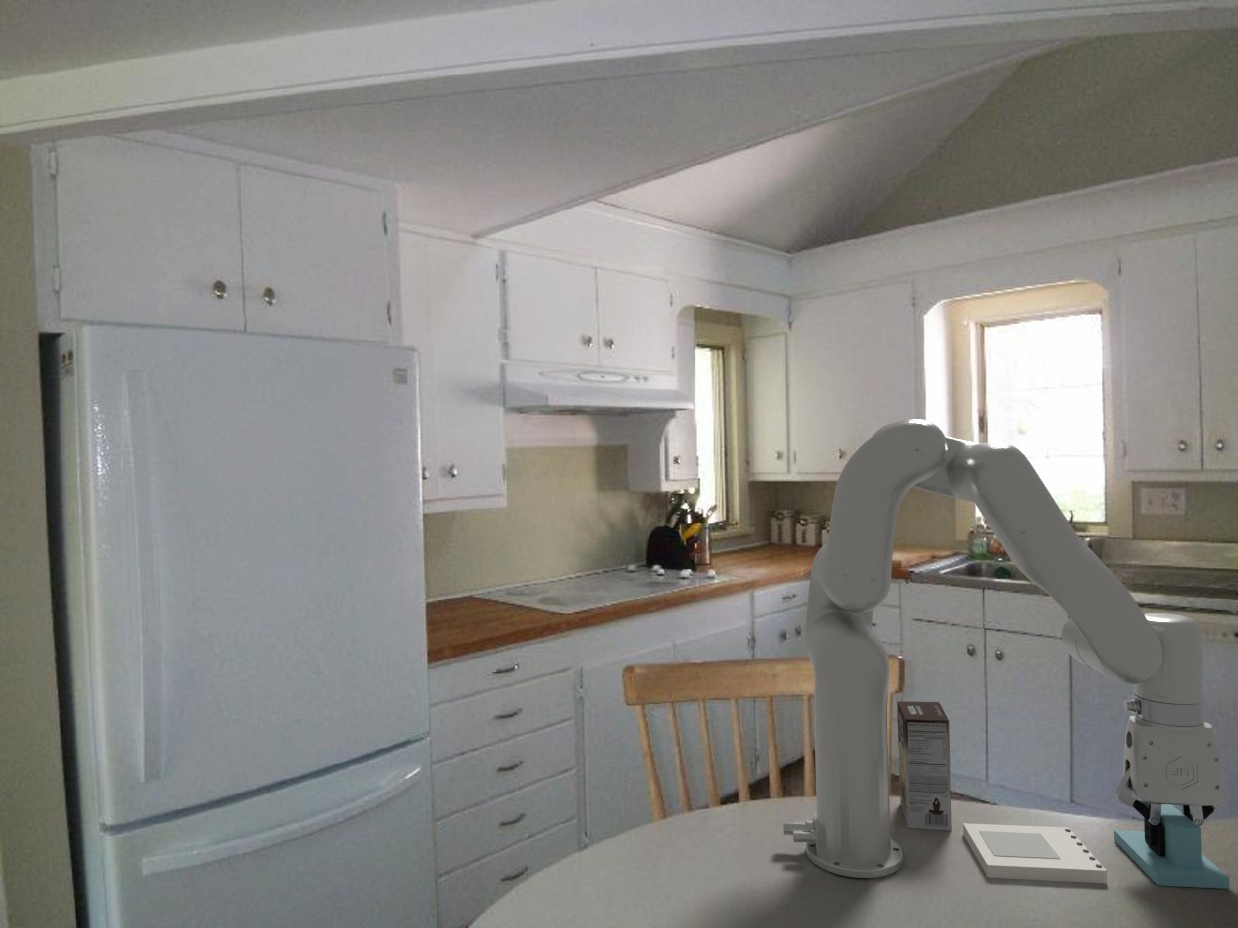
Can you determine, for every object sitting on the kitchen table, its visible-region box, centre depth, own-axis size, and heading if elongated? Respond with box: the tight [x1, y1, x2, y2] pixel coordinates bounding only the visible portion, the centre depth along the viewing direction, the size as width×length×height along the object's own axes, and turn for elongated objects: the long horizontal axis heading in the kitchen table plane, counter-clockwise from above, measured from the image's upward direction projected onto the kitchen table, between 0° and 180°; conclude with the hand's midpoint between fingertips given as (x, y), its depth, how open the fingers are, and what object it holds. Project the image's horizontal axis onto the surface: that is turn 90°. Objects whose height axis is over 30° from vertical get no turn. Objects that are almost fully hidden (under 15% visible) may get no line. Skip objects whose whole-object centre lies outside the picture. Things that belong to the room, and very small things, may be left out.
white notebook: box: [962, 822, 1108, 884], centre depth 108 cm, size 14×12×2 cm
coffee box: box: [896, 700, 953, 832], centre depth 121 cm, size 9×6×16 cm
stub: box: [1113, 804, 1231, 890], centre depth 105 cm, size 8×12×6 cm, turn 171°
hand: (1172, 850), depth 105 cm, fingers closed on stub, 3 cm apart
